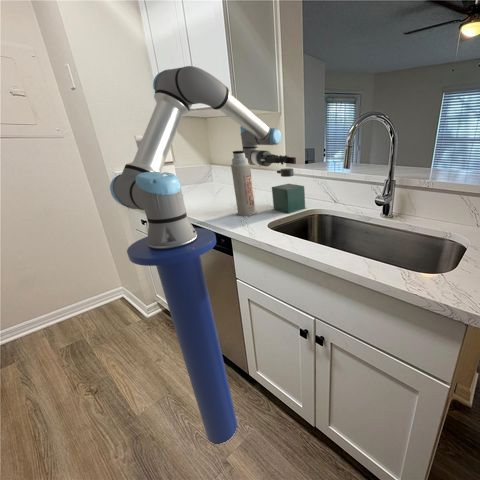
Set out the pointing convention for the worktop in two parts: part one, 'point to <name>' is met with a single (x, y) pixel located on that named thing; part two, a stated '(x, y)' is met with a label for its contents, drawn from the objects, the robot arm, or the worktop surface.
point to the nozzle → (286, 172)
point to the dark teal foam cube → (288, 198)
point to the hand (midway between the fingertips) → (294, 160)
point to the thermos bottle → (242, 184)
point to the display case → (168, 162)
